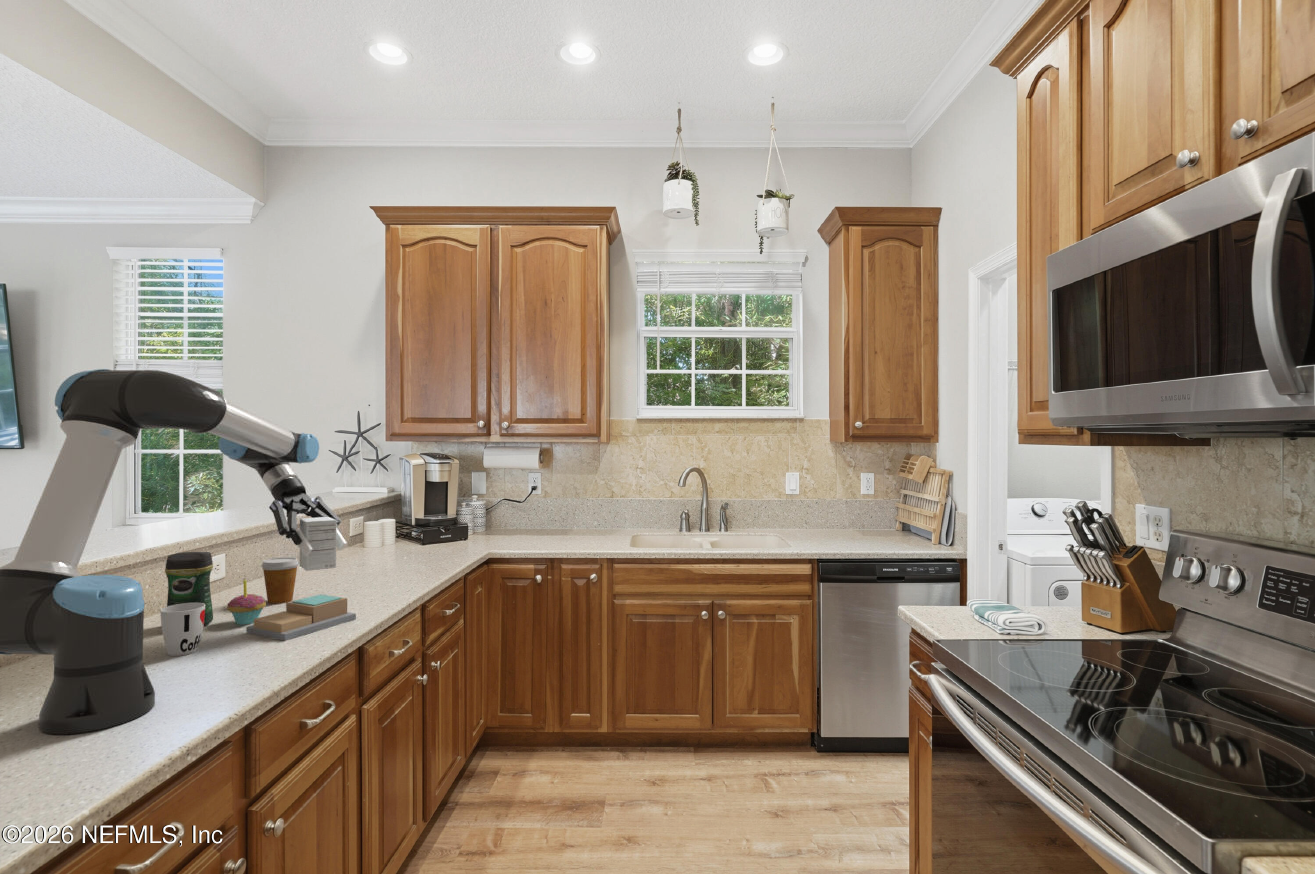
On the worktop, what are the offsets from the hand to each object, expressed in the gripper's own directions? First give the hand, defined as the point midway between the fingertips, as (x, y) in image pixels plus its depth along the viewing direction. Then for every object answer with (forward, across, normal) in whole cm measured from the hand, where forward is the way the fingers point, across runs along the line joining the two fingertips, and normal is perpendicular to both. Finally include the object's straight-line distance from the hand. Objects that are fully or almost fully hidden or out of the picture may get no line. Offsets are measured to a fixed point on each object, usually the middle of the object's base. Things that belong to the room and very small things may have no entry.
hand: (326, 549), depth 168 cm
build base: (+11, +4, -16) cm, 20 cm away
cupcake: (0, +8, -27) cm, 28 cm away
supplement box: (+1, 0, -6) cm, 6 cm away
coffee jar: (-7, +16, -34) cm, 38 cm away
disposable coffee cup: (-8, -10, -36) cm, 38 cm away
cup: (+7, +29, -20) cm, 36 cm away
